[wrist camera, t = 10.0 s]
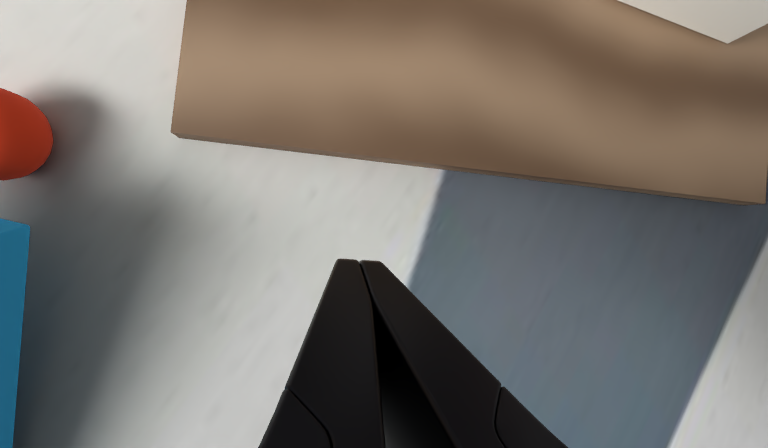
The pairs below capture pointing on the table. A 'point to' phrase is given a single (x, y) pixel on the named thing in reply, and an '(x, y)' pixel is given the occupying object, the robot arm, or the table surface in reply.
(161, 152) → the table surface
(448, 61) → the brown wooden board
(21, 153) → the lever
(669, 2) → the one stripe tile
